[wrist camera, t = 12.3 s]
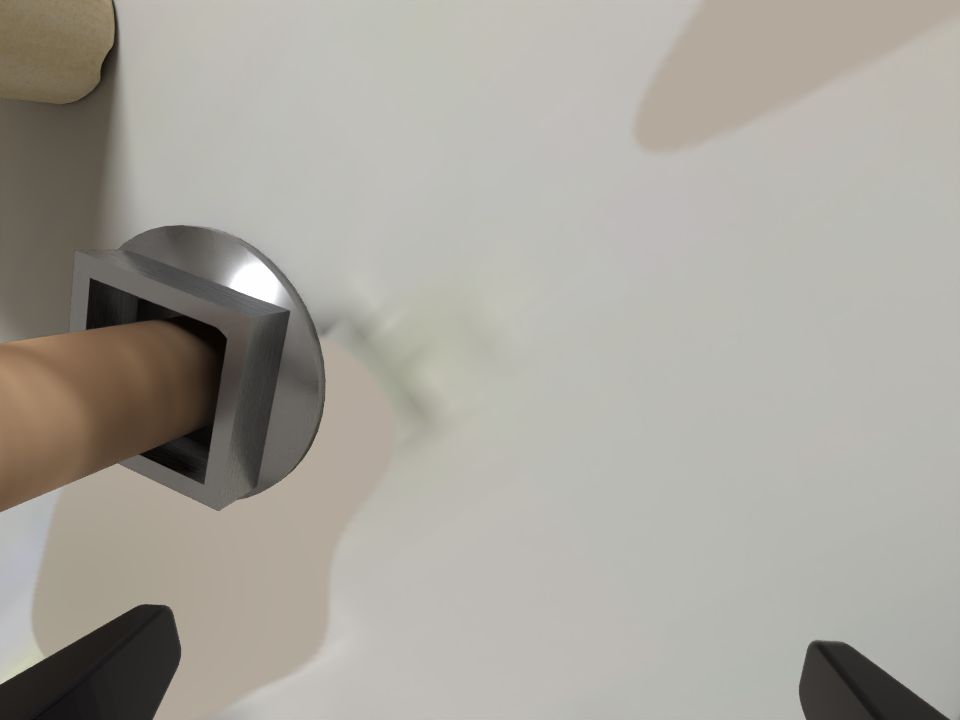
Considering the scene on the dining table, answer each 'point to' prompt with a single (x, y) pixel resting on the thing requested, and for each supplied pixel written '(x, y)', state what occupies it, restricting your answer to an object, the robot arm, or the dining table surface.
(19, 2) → the flower pot
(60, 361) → the brown tapered domed piece
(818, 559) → the dining table surface
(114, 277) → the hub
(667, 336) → the dining table surface
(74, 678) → the robot arm
